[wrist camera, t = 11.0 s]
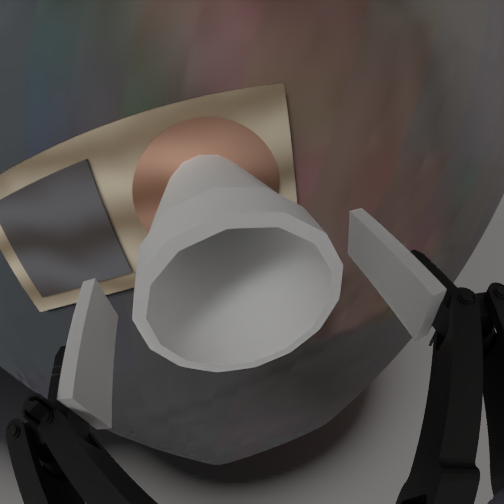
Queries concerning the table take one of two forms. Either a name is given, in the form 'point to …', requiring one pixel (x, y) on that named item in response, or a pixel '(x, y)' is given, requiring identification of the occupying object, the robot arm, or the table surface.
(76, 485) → the robot arm
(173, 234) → the foam cup
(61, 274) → the sorting board
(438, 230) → the table surface
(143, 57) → the table surface
